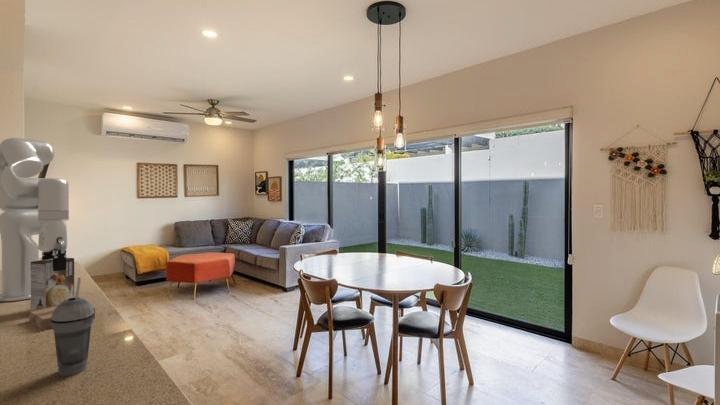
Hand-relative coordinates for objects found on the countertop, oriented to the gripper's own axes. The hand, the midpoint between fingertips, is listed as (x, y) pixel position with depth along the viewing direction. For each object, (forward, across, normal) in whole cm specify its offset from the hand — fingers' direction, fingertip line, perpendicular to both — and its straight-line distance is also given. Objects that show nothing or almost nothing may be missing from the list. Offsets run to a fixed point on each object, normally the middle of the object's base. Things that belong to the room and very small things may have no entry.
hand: (54, 268), depth 113 cm
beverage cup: (+15, +53, -12) cm, 56 cm away
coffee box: (+13, -1, 0) cm, 13 cm away
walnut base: (+14, +14, -2) cm, 20 cm away
